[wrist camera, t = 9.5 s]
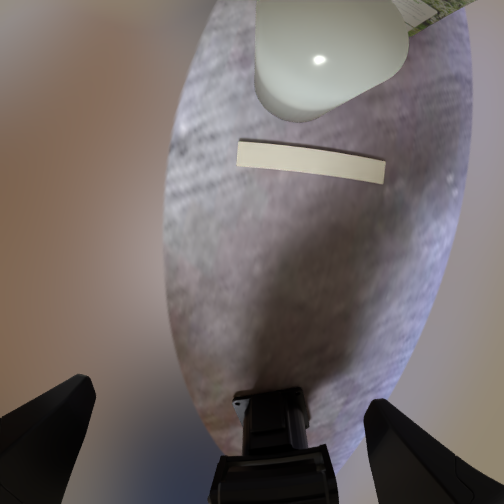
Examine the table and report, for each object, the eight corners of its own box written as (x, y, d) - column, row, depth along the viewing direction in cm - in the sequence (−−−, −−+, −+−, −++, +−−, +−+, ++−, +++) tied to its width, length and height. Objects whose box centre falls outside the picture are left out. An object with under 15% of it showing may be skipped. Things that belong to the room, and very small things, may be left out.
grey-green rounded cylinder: (344, 116, 17) (426, 85, 7) (265, 129, 17) (279, 97, 8) (324, 45, 15) (378, -32, 6) (245, 56, 16) (239, -29, 6)
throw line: (384, 161, 18) (385, 161, 17) (381, 184, 18) (383, 184, 18) (238, 141, 17) (238, 141, 17) (236, 165, 18) (236, 166, 18)
